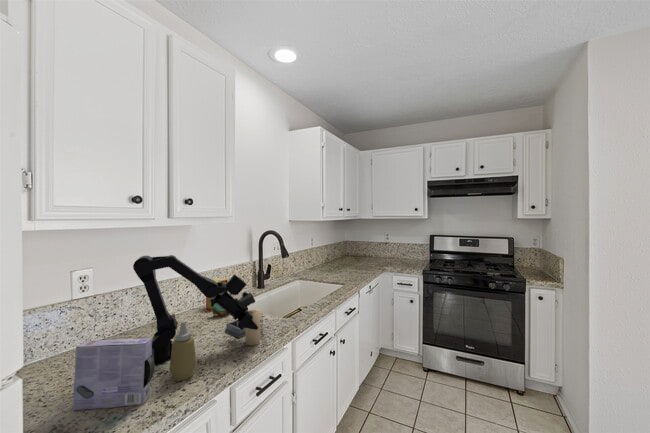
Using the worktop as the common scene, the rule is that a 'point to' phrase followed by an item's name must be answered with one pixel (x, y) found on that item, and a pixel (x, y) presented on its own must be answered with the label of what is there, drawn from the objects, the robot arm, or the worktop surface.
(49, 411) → the worktop surface
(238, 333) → the dock
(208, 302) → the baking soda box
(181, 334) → the squeeze bottle
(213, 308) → the food container
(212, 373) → the worktop surface
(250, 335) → the beige tapered cylinder
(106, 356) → the cake pan box
